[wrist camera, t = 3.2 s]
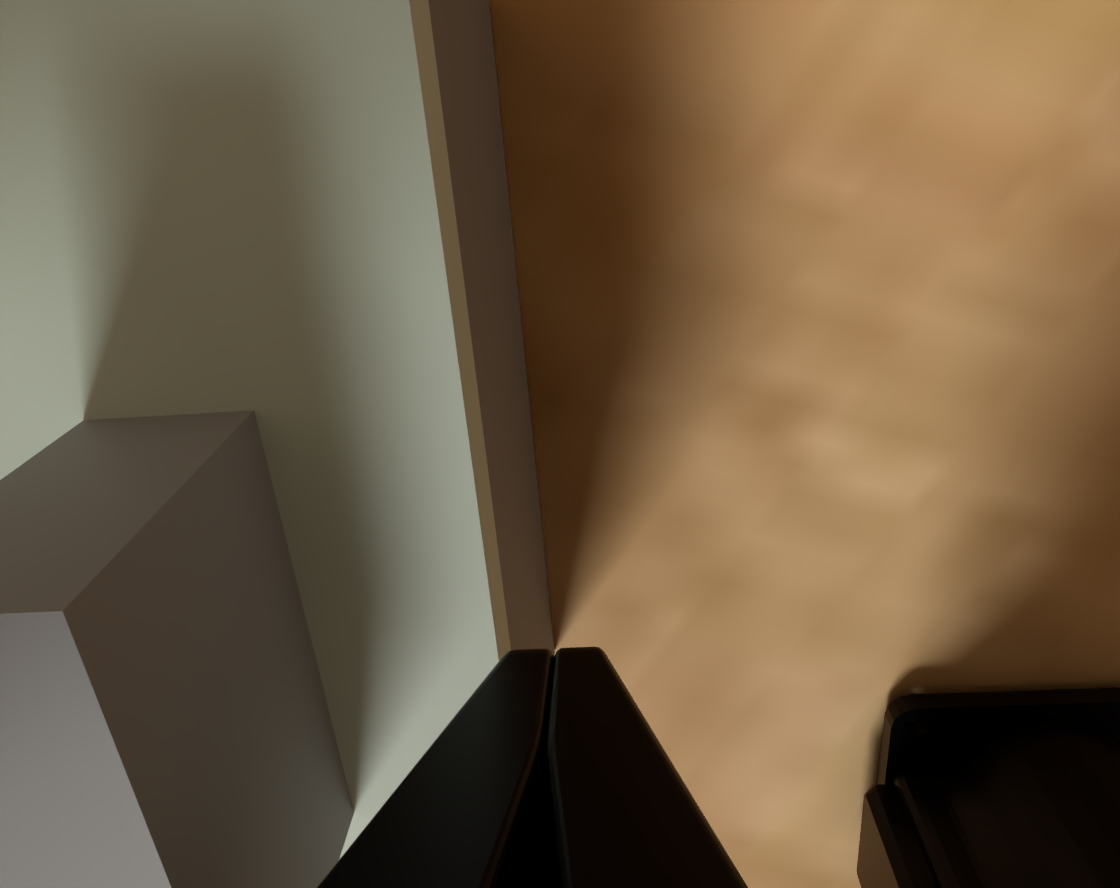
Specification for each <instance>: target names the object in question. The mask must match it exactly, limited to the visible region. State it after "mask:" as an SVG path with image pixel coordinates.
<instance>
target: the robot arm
mask: <svg viewBox="0 0 1120 888" xmlns="http://www.w3.org/2000/svg"><path fill="white" fill-rule="evenodd" d="M913 718H919V719H918V720H916V721H915V722H911V723H906V722H907V721H909V720H910V719H913ZM857 875H858V878H859V881H860V884H861V888H1120V688H1097V689H1066V690H1036V691H1005V692H975V693H944V694H914V695H907V696H902V697H900V698H898V699H896V700H894V701H893V702H892V703H891V704H890V705H889V706H888V707H887V710H886V712H885V717H884V727H883V736H882V745H881V755H880V764H879V773H878V783H877V784H872V785H871V787H870V788H869V789H868V791H867V792H866V793H865V795H864V802H863V813H862V823H861V833H860V843H859V853H858V863H857ZM317 888H748V887H747V885H746V884H745V882H744V880H743V879H742V877H741V875H740V874H739V872H738V870H737V869H736V867H735V866H734V864H733V862H732V861H731V859H730V857H729V856H728V854H727V852H726V851H725V849H724V847H723V846H722V844H721V843H720V841H719V839H718V838H717V836H716V834H715V833H714V831H713V829H712V828H711V826H710V824H709V823H708V821H707V820H706V818H705V816H704V815H703V813H702V811H701V810H700V808H699V806H698V805H697V803H696V801H695V800H694V798H693V797H692V795H691V793H690V792H689V790H688V788H687V787H686V785H685V783H684V782H683V780H682V778H681V777H680V775H679V774H678V772H677V770H676V769H675V767H674V765H673V764H672V762H671V760H670V759H669V757H668V755H667V754H666V752H665V751H664V749H663V747H662V746H661V744H660V742H659V741H658V739H657V737H656V736H655V734H654V732H653V731H652V729H651V728H650V726H649V724H648V723H647V721H646V719H645V718H644V716H643V714H642V713H641V711H640V709H639V708H638V706H637V705H636V703H635V701H634V700H633V698H632V696H631V695H630V693H629V691H628V690H627V688H626V686H625V685H624V683H623V682H622V680H621V678H620V677H619V675H618V673H617V672H616V670H615V668H614V667H613V665H612V663H611V662H610V660H609V659H608V657H607V655H606V654H605V652H604V651H603V650H602V649H600V648H599V647H575V648H561V649H559V650H558V651H557V652H556V654H555V655H554V653H553V652H552V651H551V650H550V649H546V648H545V649H515V650H510V651H508V652H507V653H505V654H504V656H503V657H502V658H501V659H500V660H499V662H498V663H497V664H496V665H495V667H494V668H493V669H492V670H491V672H490V673H489V674H488V675H487V677H486V678H485V679H484V680H483V682H482V683H481V684H480V685H479V687H478V688H477V689H476V690H475V692H474V693H473V694H472V695H471V697H470V698H469V699H468V700H467V702H466V703H465V704H464V705H463V707H462V708H461V709H460V710H459V712H458V713H457V714H456V715H455V716H454V718H453V719H452V720H451V721H450V723H449V724H448V725H447V726H446V728H445V729H444V730H443V731H442V733H441V734H440V735H439V736H438V738H437V739H436V740H435V741H434V743H433V744H432V745H431V746H430V748H429V749H428V750H427V751H426V753H425V754H424V755H423V756H422V758H421V759H420V760H419V761H418V763H417V764H416V765H415V766H414V767H413V769H412V770H411V771H410V772H409V774H408V775H407V776H406V777H405V779H404V780H403V781H402V782H401V784H400V785H399V786H398V787H397V789H396V790H395V791H394V792H393V794H392V795H391V796H390V797H389V799H388V800H387V801H386V802H385V804H384V805H383V806H382V807H381V809H380V810H379V811H378V812H377V814H376V815H375V816H374V817H373V818H372V820H371V821H370V822H369V823H368V825H367V826H366V827H365V828H364V830H363V831H362V832H361V833H360V835H359V836H358V837H357V838H356V840H355V841H354V842H353V843H352V845H351V846H350V847H349V848H348V850H347V851H346V852H345V853H344V855H343V856H342V857H341V858H340V860H339V861H338V862H337V863H336V865H335V866H334V867H333V868H332V870H331V871H330V872H329V873H328V874H327V876H326V877H325V878H324V879H323V881H322V882H321V883H320V884H319V886H318V887H317Z"/></svg>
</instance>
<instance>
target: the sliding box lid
mask: <svg viewBox="0 0 1120 888" xmlns="http://www.w3.org/2000/svg"><path fill="white" fill-rule="evenodd" d="M510 650H511V647H510V639H509V631H508V623H507V615H506V607H505V600H504V592H503V584H502V576H501V568H500V560H499V552H498V545H497V537H496V529H495V521H494V513H493V505H492V497H491V490H490V482H489V474H488V466H487V458H486V450H485V442H484V434H483V427H482V419H481V411H480V403H479V395H478V387H477V379H476V372H475V364H474V356H473V348H472V340H471V332H470V324H469V317H468V309H467V301H466V293H465V285H464V277H463V269H462V262H461V254H460V246H459V238H458V230H457V222H456V214H455V207H454V199H453V191H452V183H451V175H450V167H449V159H448V152H447V144H446V136H445V128H444V120H443V112H442V104H441V97H440V89H439V81H438V73H437V65H436V57H435V49H434V42H433V34H432V26H431V18H430V10H429V2H428V0H0V888H317V887H318V886H319V884H320V883H321V882H322V881H323V879H324V878H325V877H326V876H327V874H328V873H329V872H330V871H331V870H332V868H333V867H334V866H335V865H336V863H337V862H338V861H339V860H340V858H341V857H342V856H343V855H344V853H345V852H346V851H347V850H348V848H349V847H350V846H351V845H352V843H353V842H354V841H355V840H356V838H357V837H358V836H359V835H360V833H361V832H362V831H363V830H364V828H365V827H366V826H367V825H368V823H369V822H370V821H371V820H372V818H373V817H374V816H375V815H376V814H377V812H378V811H379V810H380V809H381V807H382V806H383V805H384V804H385V802H386V801H387V800H388V799H389V797H390V796H391V795H392V794H393V792H394V791H395V790H396V789H397V787H398V786H399V785H400V784H401V782H402V781H403V780H404V779H405V777H406V776H407V775H408V774H409V772H410V771H411V770H412V769H413V767H414V766H415V765H416V764H417V763H418V761H419V760H420V759H421V758H422V756H423V755H424V754H425V753H426V751H427V750H428V749H429V748H430V746H431V745H432V744H433V743H434V741H435V740H436V739H437V738H438V736H439V735H440V734H441V733H442V731H443V730H444V729H445V728H446V726H447V725H448V724H449V723H450V721H451V720H452V719H453V718H454V716H455V715H456V714H457V713H458V712H459V710H460V709H461V708H462V707H463V705H464V704H465V703H466V702H467V700H468V699H469V698H470V697H471V695H472V694H473V693H474V692H475V690H476V689H477V688H478V687H479V685H480V684H481V683H482V682H483V680H484V679H485V678H486V677H487V675H488V674H489V673H490V672H491V670H492V669H493V668H494V667H495V665H496V664H497V663H498V662H499V660H500V659H501V658H502V657H503V656H504V654H505V653H507V652H508V651H510Z"/></svg>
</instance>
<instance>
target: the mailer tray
mask: <svg viewBox="0 0 1120 888" xmlns="http://www.w3.org/2000/svg"><path fill="white" fill-rule="evenodd" d="M428 2H429V10H430V18H431V26H432V34H433V42H434V49H435V57H436V65H437V73H438V81H439V89H440V97H441V104H442V112H443V120H444V128H445V136H446V144H447V152H448V159H449V167H450V175H451V183H452V191H453V199H454V207H455V214H456V222H457V230H458V238H459V246H460V254H461V262H462V269H463V277H464V285H465V293H466V301H467V309H468V317H469V324H470V332H471V340H472V348H473V356H474V364H475V372H476V379H477V387H478V395H479V403H480V411H481V419H482V427H483V434H484V442H485V450H486V458H487V466H488V474H489V482H490V490H491V497H492V505H493V513H494V521H495V529H496V537H497V545H498V552H499V560H500V568H501V576H502V584H503V592H504V600H505V607H506V615H507V623H508V631H509V639H510V647H511V650H515V649H545V648H546V649H550V650H551V651H552V652H553V653H554V655H555V651H554V641H553V631H552V621H551V611H550V601H549V591H548V581H547V571H546V561H545V551H544V541H543V531H542V521H541V511H540V501H539V492H538V482H537V472H536V462H535V452H534V442H533V432H532V422H531V412H530V402H529V392H528V382H527V372H526V362H525V352H524V342H523V332H522V322H521V312H520V302H519V292H518V282H517V272H516V263H515V253H514V243H513V233H512V223H511V213H510V203H509V193H508V183H507V173H506V163H505V153H504V143H503V133H502V123H501V113H500V103H499V93H498V83H497V73H496V63H495V53H494V44H493V34H492V24H491V14H490V4H489V0H428Z"/></svg>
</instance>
